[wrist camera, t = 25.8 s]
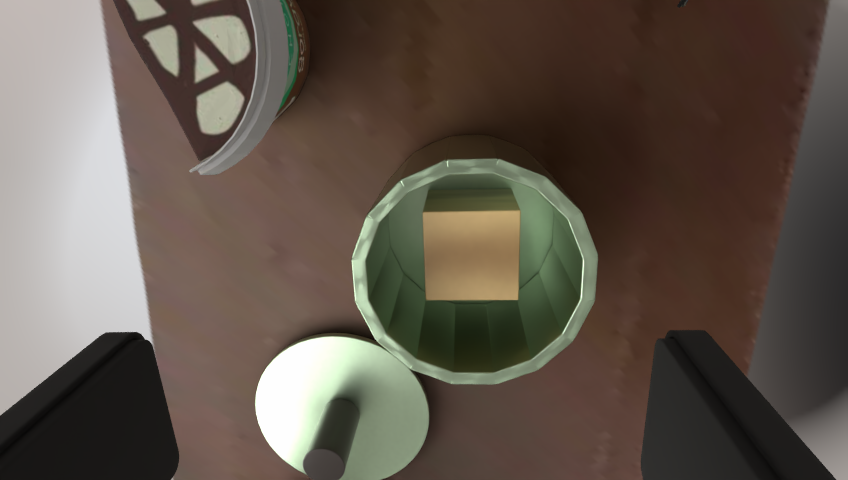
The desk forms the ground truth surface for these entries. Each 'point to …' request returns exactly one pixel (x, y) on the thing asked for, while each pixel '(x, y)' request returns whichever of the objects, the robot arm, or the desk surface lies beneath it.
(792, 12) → the desk surface
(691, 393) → the robot arm
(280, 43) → the food container
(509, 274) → the block
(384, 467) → the lid
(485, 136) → the tin
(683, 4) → the tape measure
